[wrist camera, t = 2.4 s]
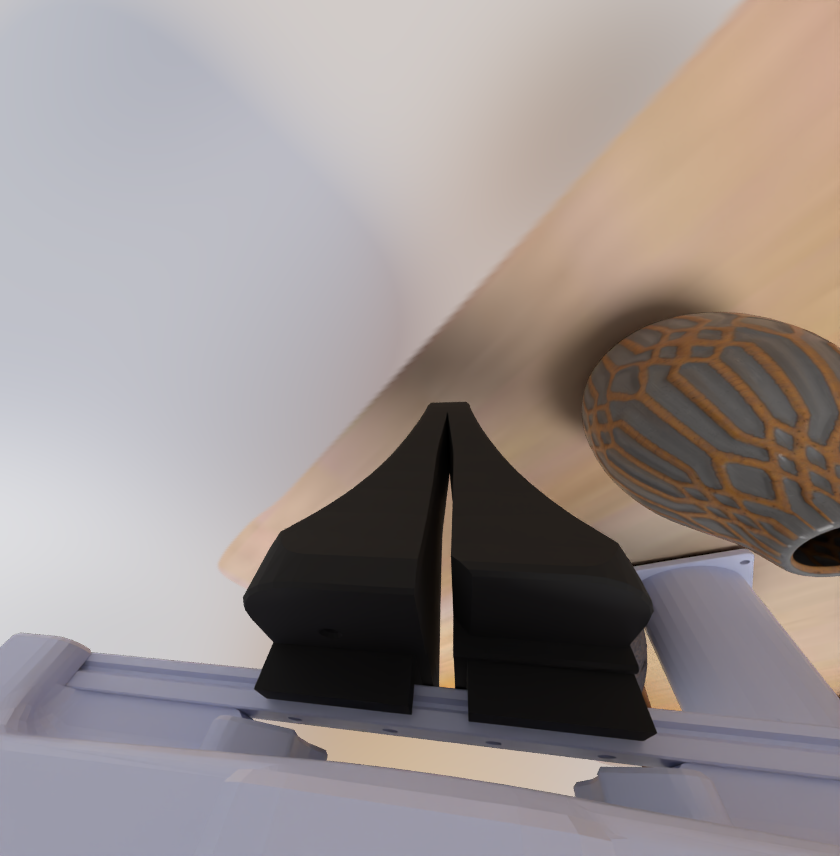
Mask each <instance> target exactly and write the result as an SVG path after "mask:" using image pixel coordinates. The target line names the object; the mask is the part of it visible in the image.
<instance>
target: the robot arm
mask: <svg viewBox="0 0 840 856" xmlns="http://www.w3.org/2000/svg"><path fill="white" fill-rule="evenodd" d="M449 474H450V480H451V491H452V501H453V511H452V542H451V567H452V592H453V658H454V672H455V688H445V687H439V655H440V601H441V559H442V533H443V523H444V515H445V507H446V499H447V491H448V482H449ZM753 568H754V555H753V553H752V552H751V551H750V550H748V549H737V550H731V551H725V552H719V553H713V554H706V555H700V556H694V557H688V558H682V559H676V560H670V561H664V562H657V563H651V564H645V565H639V566H633V565H632V564H631V562H630V561H629V559H628V558H627V556H626V555H625V553H624V552H623V550H622V549H621V547H620V546H619V544H618V543H617V542H615V541H614V540H612V539H610V538H609V537H607V536H605V535H604V534H602V533H600V532H599V531H597V530H595V529H594V528H592V527H591V526H589V525H587V524H586V523H584V522H582V521H581V520H579V519H577V518H576V517H574V516H573V515H571V514H570V513H569V512H567V511H566V510H564V509H563V508H561V507H560V506H559V505H557V504H556V503H554V502H553V501H552V500H550V499H549V498H548V497H547V496H545V495H544V494H543V493H542V492H540V491H539V490H538V489H537V488H535V487H534V486H533V485H532V484H531V483H529V482H528V481H527V480H526V479H525V478H524V477H523V476H522V475H521V474H520V473H518V472H517V471H516V470H515V469H514V468H513V466H512V465H511V464H510V463H509V462H508V461H507V460H506V459H505V458H504V457H503V456H502V455H501V453H500V452H499V451H498V450H497V449H496V447H495V446H494V445H493V444H492V442H491V441H490V440H489V438H488V437H487V435H486V434H485V432H484V431H483V430H482V428H481V427H480V425H479V423H478V422H477V420H476V418H475V417H474V415H473V413H472V411H471V408H470V405H469V404H468V403H467V402H446V403H430V404H429V405H428V407H427V409H426V410H425V412H424V414H423V415H422V417H421V418H420V420H419V421H418V423H417V424H416V426H415V427H414V428H413V430H412V431H411V432H410V434H409V435H408V436H407V438H406V439H405V440H404V441H403V442H402V443H401V445H400V446H399V447H398V448H397V449H396V450H395V451H394V453H393V454H392V455H391V456H390V457H389V458H388V459H387V460H386V461H385V462H384V463H383V464H382V465H381V466H380V467H378V468H377V469H376V470H375V471H374V472H373V473H372V474H370V475H369V476H368V477H367V478H365V479H364V480H363V481H362V482H360V483H359V484H358V485H357V486H355V487H354V488H353V489H351V490H350V491H348V492H347V493H346V494H344V495H343V496H341V497H340V498H338V499H337V500H335V501H334V502H332V503H330V504H329V505H327V506H326V507H324V508H322V509H321V510H319V511H317V512H316V513H314V514H312V515H310V516H308V517H307V518H305V519H303V520H301V521H299V522H298V523H296V524H294V525H292V526H290V527H289V528H287V529H285V530H283V531H281V532H280V533H279V535H278V537H277V538H276V540H275V541H274V543H273V544H272V546H271V547H270V549H269V551H268V552H267V554H266V556H265V558H264V560H263V562H262V563H261V565H260V567H259V569H258V571H257V573H256V574H255V576H254V578H253V580H252V582H251V584H250V585H249V587H248V589H247V591H246V593H245V595H244V596H243V602H244V607H245V610H246V611H247V613H248V614H249V616H250V617H251V618H252V620H253V621H254V622H255V623H256V624H257V625H258V626H259V627H260V628H261V629H262V630H263V631H264V633H265V634H266V635H267V636H268V637H269V638H270V639H271V640H272V641H273V645H272V647H271V649H270V652H269V654H268V656H267V659H266V661H265V664H264V666H263V668H262V669H254V668H244V667H234V666H224V665H213V664H204V663H194V662H183V661H174V660H164V659H154V658H143V657H134V656H124V655H114V654H104V653H94V652H91V651H90V649H89V648H87V647H85V646H84V645H82V644H80V643H78V642H75V641H73V640H70V639H67V638H63V637H58V636H51V635H40V634H39V635H38V634H29V633H18V634H15V635H13V636H12V637H11V638H10V639H8V640H7V641H6V643H4V644H3V645H2V646H1V647H0V856H840V699H839V697H838V696H837V695H836V694H835V692H834V691H833V690H832V689H831V687H830V686H829V685H828V684H827V682H826V681H825V680H824V678H823V677H822V676H821V675H820V673H819V672H818V671H817V670H816V668H815V667H814V666H813V665H812V663H811V662H810V661H809V660H808V658H807V657H806V656H805V655H804V653H803V652H802V651H801V650H800V648H799V647H798V646H797V644H796V643H795V642H794V641H793V639H792V638H791V637H790V636H789V634H788V633H787V632H786V631H785V629H784V628H783V627H782V626H781V624H780V623H779V622H778V621H777V619H776V618H775V617H774V615H773V614H772V613H771V612H770V610H769V609H768V608H767V607H766V605H765V604H764V603H763V602H762V600H761V599H760V598H759V597H758V595H757V594H756V593H755V592H754V590H753V589H752V584H753ZM644 628H645V630H646V633H647V635H648V637H649V639H650V641H651V644H652V646H653V648H654V650H655V652H656V655H657V657H658V659H659V661H660V663H661V665H662V668H663V670H664V672H665V674H666V676H667V679H668V681H669V683H670V685H671V687H672V690H673V692H674V694H675V696H676V698H677V701H678V703H679V705H680V707H681V709H682V711H675V710H665V709H655V708H647V705H646V703H645V700H644V697H643V695H642V692H641V690H640V687H639V685H638V682H637V680H636V677H635V674H638V673H639V665H638V663H637V660H636V658H635V656H634V653H633V651H632V648H631V646H630V644H631V643H632V642H633V641H634V640H635V638H636V637H637V636H638V635H639V634H640V632H641V631H642V630H643V629H644ZM252 718H256V719H265V720H273V721H281V722H289V723H298V724H305V725H313V726H321V727H330V728H338V729H346V730H354V731H362V732H371V733H378V734H387V735H394V736H403V737H411V738H419V739H427V740H435V741H443V742H451V743H460V744H467V745H477V746H484V747H492V748H500V749H508V750H516V751H525V752H532V753H541V754H549V755H557V756H565V757H573V758H582V759H589V760H597V761H605V762H614V763H622V764H630V765H638V766H646V767H600V769H599V771H598V773H597V775H598V776H597V777H595V778H594V779H591V780H586V781H581V782H577V783H576V784H575V786H574V792H575V797H572V796H567V795H561V794H555V793H550V792H544V791H537V790H533V789H527V788H521V787H515V786H509V785H504V784H497V783H490V782H484V781H478V780H472V779H465V778H459V777H452V776H446V775H438V774H431V773H423V772H416V771H409V770H402V769H395V768H387V767H378V766H369V765H361V764H353V763H345V762H334V761H326V760H327V752H326V750H324V749H322V748H319V747H317V746H314V745H312V744H309V743H308V742H306V741H305V740H303V739H301V738H300V737H298V735H297V734H296V732H295V731H294V730H292V729H288V728H284V727H280V726H276V725H271V724H267V723H263V722H258V721H254V720H253V719H252Z"/></svg>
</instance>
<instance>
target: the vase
mask: <svg viewBox="0 0 840 856" xmlns="http://www.w3.org/2000/svg"><path fill="white" fill-rule="evenodd" d="M582 420H583V426H584V431H585V435H586V437H587V440H588V442H589V445H590V447H591V449H592V451H593V453H594V455H595V457H596V459H597V460H598V462H599V463H600V465H601V466H602V468H603V469H604V471H605V472H606V473H607V474H608V475H609V476H610V478H611V479H612V480H613V481H614V482H615V483H616V484H617V485H618V486H619V487H620V488H621V489H622V490H624V491H625V492H626V493H627V494H628V495H630V496H631V497H632V498H633V499H635V500H636V501H637V502H639V503H640V504H642V505H643V506H644V507H646V508H648V509H649V510H651V511H653V512H654V513H656V514H658V515H660V516H662V517H664V518H666V519H668V520H671V521H673V522H676V523H678V524H681V525H684V526H686V527H689V528H692V529H695V530H698V531H701V532H704V533H706V534H709V535H712V536H715V537H718V538H721V539H725V540H727V541H730V542H733V543H736V544H738V545H740V546H743V547H745V548H747V549H749V550H751V551H753V552H755V553H756V554H758V555H760V556H762V557H763V558H765V559H767V560H768V561H770V562H772V563H774V564H775V565H777V566H779V567H781V568H782V569H784V570H786V571H789V572H791V573H794V574H798V575H803V576H812V577H833V576H840V348H839V347H838V346H836V345H835V344H833V343H831V342H829V341H828V340H826V339H824V338H822V337H820V336H819V335H817V334H815V333H812V332H810V331H807V330H805V329H802V328H800V327H797V326H794V325H791V324H788V323H784V322H781V321H777V320H774V319H770V318H765V317H760V316H755V315H750V314H743V313H728V312H710V313H695V314H688V315H682V316H677V317H673V318H669V319H665V320H662V321H659V322H656V323H653V324H650V325H648V326H646V327H644V328H642V329H640V330H638V331H636V332H634V333H632V334H631V335H629V336H628V337H626V338H625V339H623V340H622V341H620V342H619V343H618V344H617V345H615V346H614V347H613V348H612V349H611V350H610V351H609V352H608V353H607V354H606V355H605V356H604V357H603V358H602V359H601V360H600V362H599V363H598V364H597V366H596V367H595V368H594V370H593V372H592V373H591V375H590V377H589V379H588V381H587V384H586V387H585V391H584V395H583V401H582Z"/></svg>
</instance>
